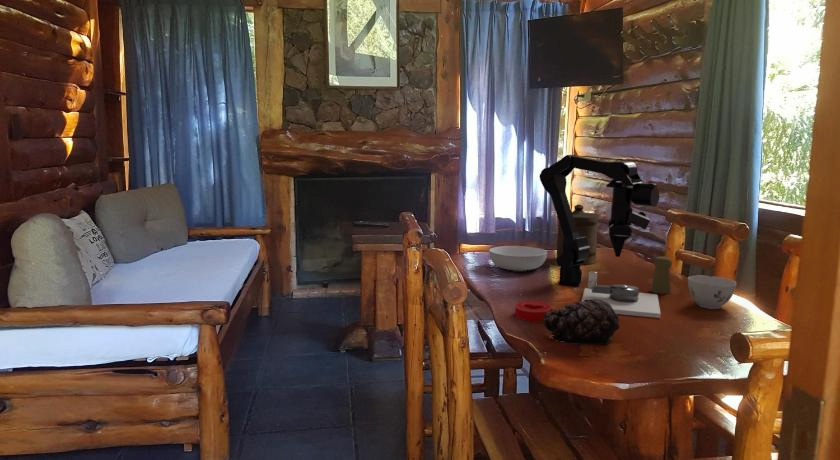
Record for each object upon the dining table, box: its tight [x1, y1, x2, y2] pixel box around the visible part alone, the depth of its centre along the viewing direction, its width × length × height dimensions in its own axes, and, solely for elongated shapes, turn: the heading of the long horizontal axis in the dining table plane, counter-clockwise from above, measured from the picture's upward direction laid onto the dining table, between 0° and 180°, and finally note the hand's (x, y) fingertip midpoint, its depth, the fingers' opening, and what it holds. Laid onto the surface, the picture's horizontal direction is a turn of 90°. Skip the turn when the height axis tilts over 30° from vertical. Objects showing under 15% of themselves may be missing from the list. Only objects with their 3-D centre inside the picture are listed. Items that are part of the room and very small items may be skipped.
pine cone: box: [541, 299, 620, 345], centre depth 144 cm, size 10×18×10 cm, turn 91°
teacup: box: [687, 274, 737, 310], centre depth 174 cm, size 15×12×8 cm
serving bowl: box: [488, 245, 548, 272], centre depth 220 cm, size 21×21×7 cm
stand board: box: [580, 287, 661, 319], centre depth 175 cm, size 21×21×2 cm
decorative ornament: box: [514, 300, 553, 322], centre depth 163 cm, size 10×10×3 cm
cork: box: [650, 256, 673, 295], centre depth 189 cm, size 6×6×11 cm
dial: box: [587, 270, 640, 302], centre depth 177 cm, size 14×8×7 cm, turn 71°
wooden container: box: [555, 203, 599, 266], centre depth 233 cm, size 15×15×22 cm
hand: (617, 253), depth 185 cm, fingers open, 9 cm apart
